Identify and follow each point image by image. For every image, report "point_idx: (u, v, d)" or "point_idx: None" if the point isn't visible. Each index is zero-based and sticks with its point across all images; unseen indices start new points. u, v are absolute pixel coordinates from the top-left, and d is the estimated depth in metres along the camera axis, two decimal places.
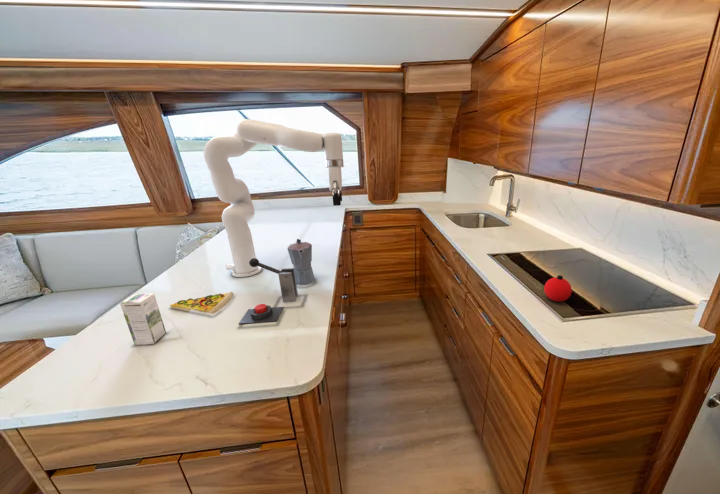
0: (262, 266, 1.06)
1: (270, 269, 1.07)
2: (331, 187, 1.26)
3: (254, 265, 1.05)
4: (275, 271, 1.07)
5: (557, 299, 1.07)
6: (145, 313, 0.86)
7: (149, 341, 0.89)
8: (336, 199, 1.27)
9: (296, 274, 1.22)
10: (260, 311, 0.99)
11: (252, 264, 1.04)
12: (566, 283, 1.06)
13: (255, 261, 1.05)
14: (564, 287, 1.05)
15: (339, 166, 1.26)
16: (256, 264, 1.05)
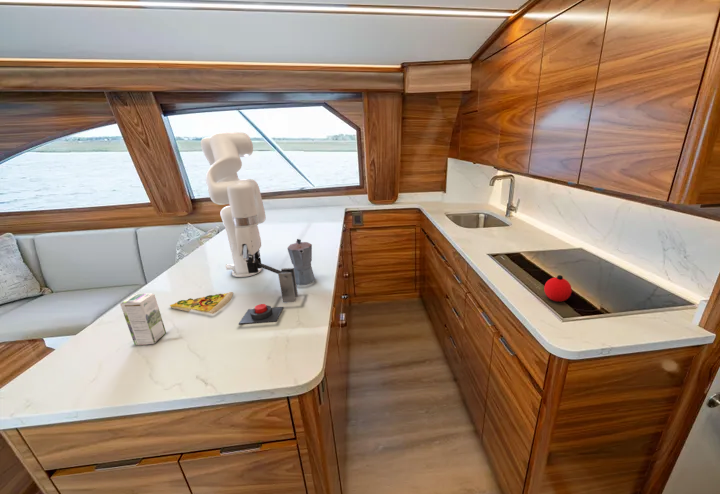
0: (262, 266, 1.06)
1: (270, 269, 1.07)
2: (240, 251, 0.99)
3: None
4: (275, 271, 1.07)
5: (557, 299, 1.07)
6: (145, 313, 0.86)
7: (149, 341, 0.89)
8: (251, 266, 1.03)
9: (296, 274, 1.22)
10: (260, 311, 0.99)
11: None
12: (566, 283, 1.06)
13: (255, 261, 1.05)
14: (564, 287, 1.05)
15: (250, 225, 0.98)
16: None
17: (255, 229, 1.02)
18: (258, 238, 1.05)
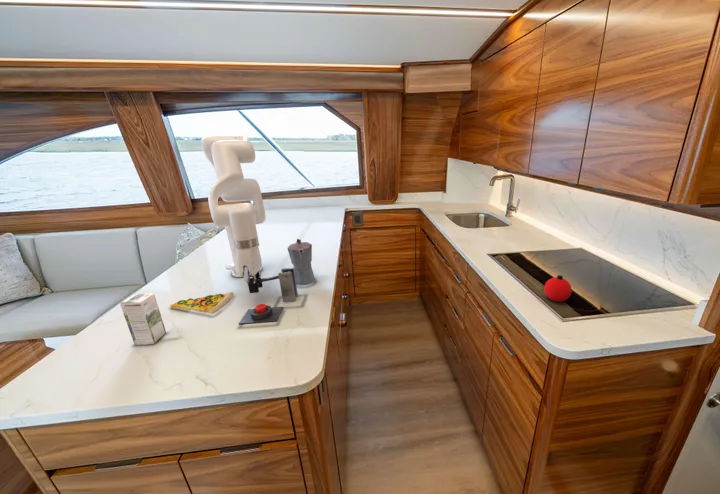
0: (262, 280, 1.08)
1: (270, 279, 1.08)
2: (241, 273, 1.01)
3: None
4: (275, 278, 1.08)
5: (557, 299, 1.07)
6: (145, 313, 0.86)
7: (149, 341, 0.89)
8: (252, 287, 1.06)
9: (296, 274, 1.22)
10: (260, 311, 0.99)
11: None
12: (566, 283, 1.06)
13: None
14: (564, 287, 1.05)
15: (251, 247, 1.01)
16: None
17: (256, 250, 1.05)
18: (259, 259, 1.07)
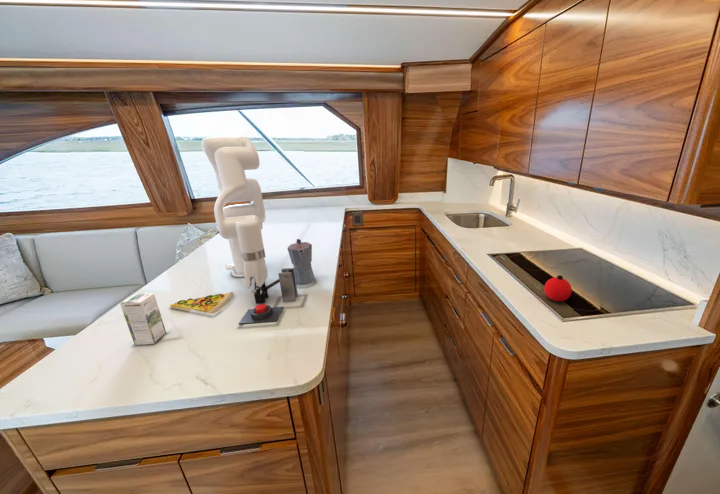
0: (266, 288, 1.09)
1: (273, 284, 1.09)
2: (248, 284, 1.03)
3: None
4: (277, 281, 1.09)
5: (557, 299, 1.07)
6: (145, 313, 0.86)
7: (149, 341, 0.89)
8: (258, 297, 1.07)
9: (296, 274, 1.22)
10: (260, 311, 0.99)
11: None
12: (566, 283, 1.06)
13: None
14: (564, 287, 1.05)
15: (257, 259, 1.03)
16: None
17: (262, 262, 1.06)
18: (265, 270, 1.09)
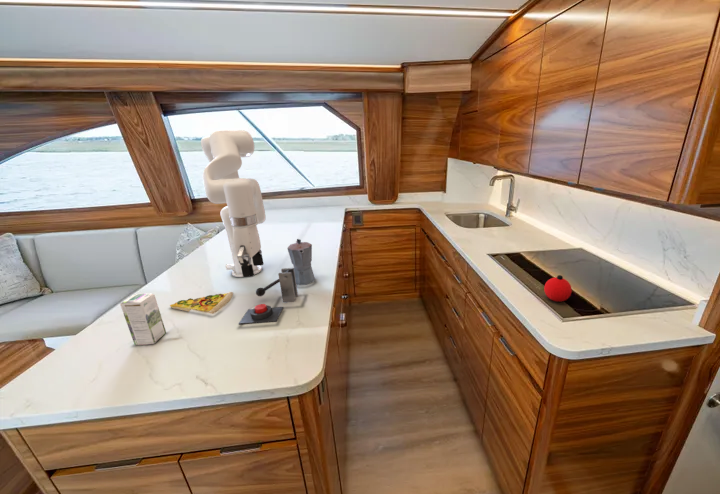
0: (266, 288, 1.09)
1: (273, 284, 1.09)
2: (238, 254, 0.92)
3: (261, 293, 1.09)
4: (277, 281, 1.09)
5: (557, 299, 1.07)
6: (145, 313, 0.86)
7: (149, 341, 0.89)
8: (246, 269, 0.93)
9: (296, 274, 1.22)
10: (260, 311, 0.99)
11: (259, 294, 1.08)
12: (566, 283, 1.06)
13: (258, 290, 1.09)
14: (564, 287, 1.05)
15: (248, 225, 0.92)
16: (261, 291, 1.09)
17: (254, 230, 0.95)
18: (257, 239, 0.98)
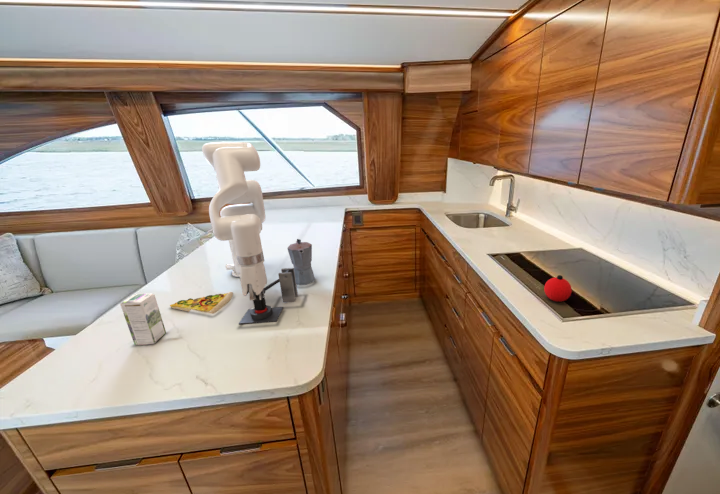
0: (266, 288, 1.09)
1: (273, 284, 1.09)
2: (244, 292, 0.92)
3: None
4: (277, 281, 1.09)
5: (557, 299, 1.07)
6: (145, 313, 0.86)
7: (149, 341, 0.89)
8: (258, 304, 0.98)
9: (296, 274, 1.22)
10: None
11: None
12: (566, 283, 1.06)
13: None
14: (564, 287, 1.05)
15: (255, 264, 0.92)
16: None
17: (261, 267, 0.96)
18: (264, 275, 0.98)
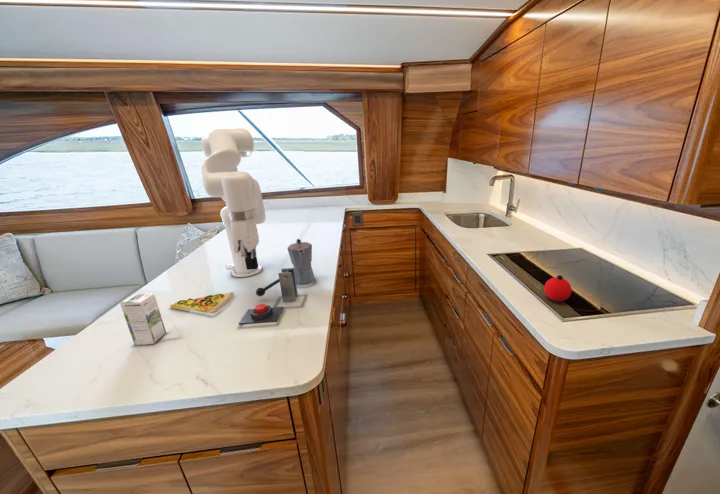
0: (266, 288, 1.09)
1: (273, 284, 1.09)
2: (236, 248, 0.91)
3: (261, 293, 1.09)
4: (277, 281, 1.09)
5: (557, 299, 1.07)
6: (145, 313, 0.86)
7: (149, 341, 0.89)
8: (249, 262, 0.97)
9: (296, 274, 1.22)
10: (260, 311, 0.99)
11: (259, 294, 1.08)
12: (566, 283, 1.06)
13: (258, 290, 1.09)
14: (564, 287, 1.05)
15: (246, 220, 0.91)
16: (261, 291, 1.09)
17: (252, 224, 0.95)
18: (255, 234, 0.97)
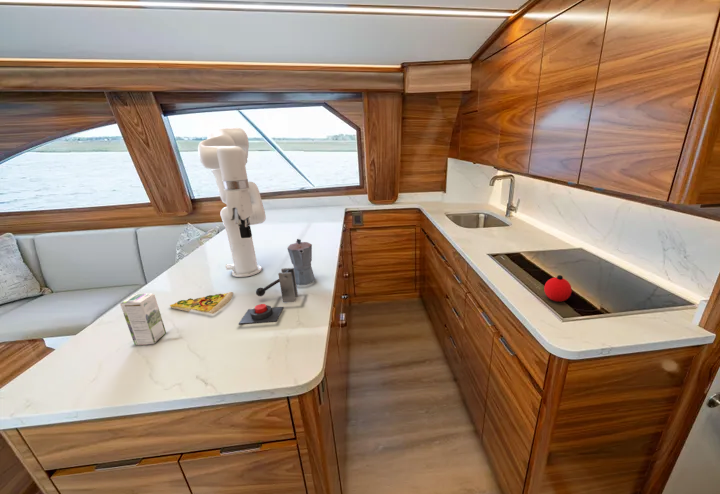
0: (266, 288, 1.09)
1: (273, 284, 1.09)
2: (230, 216, 0.99)
3: (261, 293, 1.09)
4: (277, 281, 1.09)
5: (557, 299, 1.07)
6: (145, 313, 0.86)
7: (149, 341, 0.89)
8: (243, 231, 1.04)
9: (296, 274, 1.22)
10: (260, 311, 0.99)
11: (259, 294, 1.08)
12: (566, 283, 1.06)
13: (258, 290, 1.09)
14: (564, 287, 1.05)
15: (240, 189, 0.98)
16: (261, 291, 1.09)
17: (246, 194, 1.02)
18: (249, 204, 1.04)
